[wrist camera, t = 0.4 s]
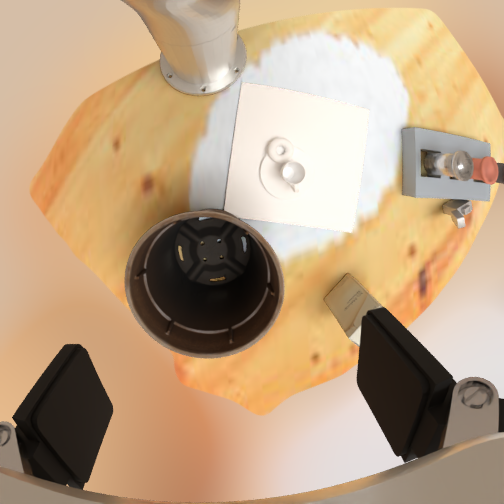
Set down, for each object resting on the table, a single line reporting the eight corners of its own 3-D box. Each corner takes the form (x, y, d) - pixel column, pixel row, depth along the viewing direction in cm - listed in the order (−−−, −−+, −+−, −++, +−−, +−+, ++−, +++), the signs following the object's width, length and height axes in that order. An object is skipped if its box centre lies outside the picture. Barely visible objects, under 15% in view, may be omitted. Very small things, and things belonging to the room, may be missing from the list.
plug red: (450, 153, 39) (482, 154, 31) (466, 156, 39) (498, 158, 31) (450, 178, 40) (482, 183, 32) (466, 180, 40) (498, 185, 32)
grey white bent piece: (456, 197, 45) (484, 203, 37) (458, 205, 46) (486, 213, 38) (431, 211, 46) (459, 219, 38) (433, 219, 46) (460, 229, 38)
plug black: (474, 157, 39) (505, 160, 31) (487, 160, 39) (518, 163, 32) (474, 181, 40) (505, 186, 33) (487, 183, 41) (517, 188, 33)
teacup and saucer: (264, 136, 40) (268, 132, 36) (317, 145, 41) (326, 143, 37) (256, 196, 42) (259, 198, 38) (309, 203, 43) (317, 206, 39)
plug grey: (421, 149, 38) (454, 149, 31) (440, 152, 39) (473, 152, 31) (421, 176, 39) (454, 180, 32) (440, 177, 40) (473, 182, 32)
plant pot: (180, 310, 47) (162, 372, 31) (143, 216, 42) (100, 242, 27) (277, 281, 47) (300, 336, 31) (247, 181, 42) (258, 188, 27)
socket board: (401, 129, 41) (414, 127, 37) (476, 143, 42) (490, 143, 39) (402, 194, 44) (415, 197, 40) (476, 198, 45) (489, 201, 42)
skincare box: (347, 271, 47) (380, 303, 36) (363, 286, 48) (397, 319, 37) (322, 300, 48) (347, 338, 37) (339, 313, 49) (366, 352, 38)
